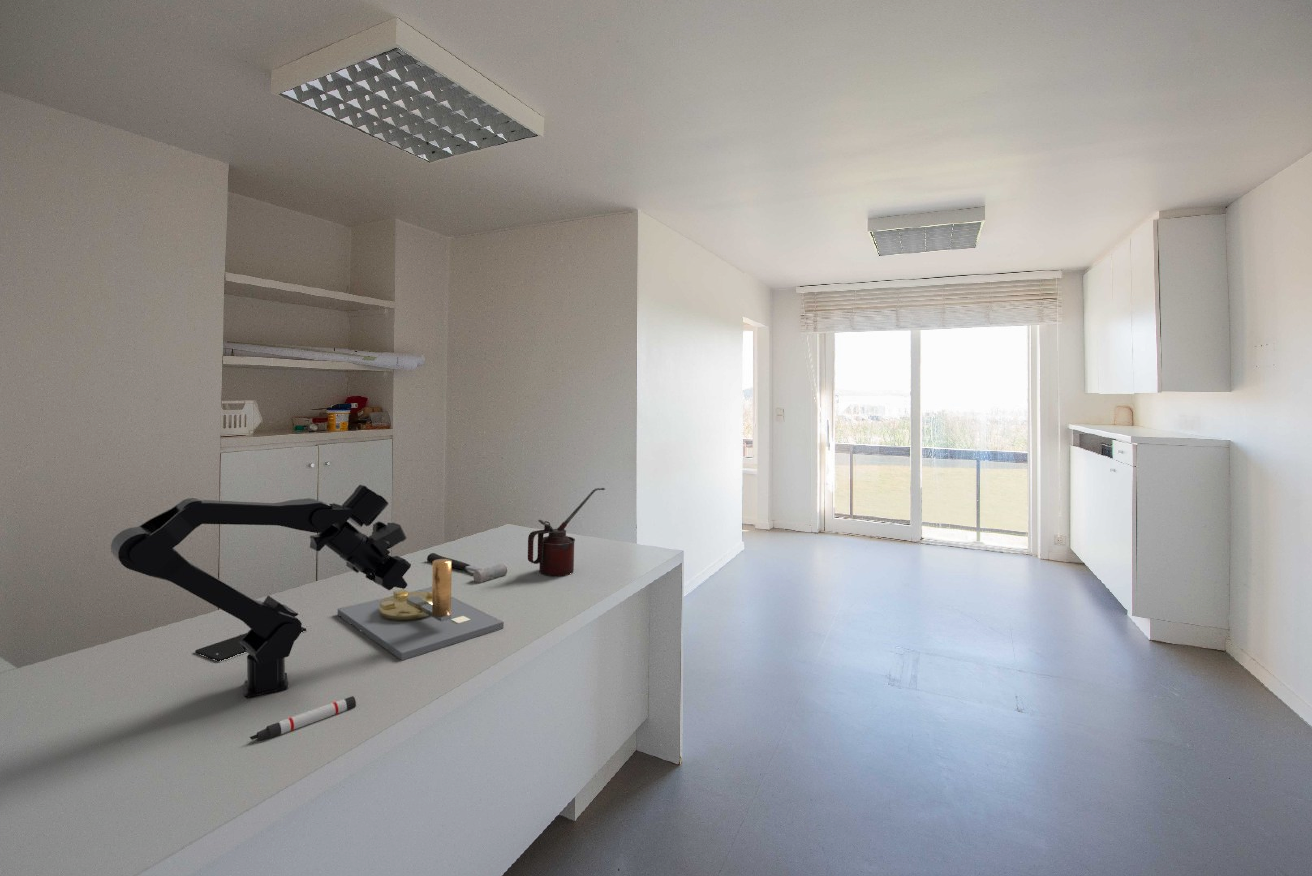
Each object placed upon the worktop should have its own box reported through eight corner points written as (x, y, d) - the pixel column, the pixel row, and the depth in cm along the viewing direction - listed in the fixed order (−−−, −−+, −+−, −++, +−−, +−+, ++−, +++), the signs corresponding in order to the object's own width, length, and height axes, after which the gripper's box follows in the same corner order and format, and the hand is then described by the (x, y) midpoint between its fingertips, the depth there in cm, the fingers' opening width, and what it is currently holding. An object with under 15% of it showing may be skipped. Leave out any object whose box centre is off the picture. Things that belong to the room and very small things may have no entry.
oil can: (539, 581, 171) (541, 497, 169) (520, 572, 179) (521, 492, 177) (613, 565, 190) (615, 489, 189) (593, 557, 198) (595, 485, 196)
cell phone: (307, 632, 131) (307, 628, 131) (219, 664, 115) (219, 659, 115) (282, 624, 135) (282, 620, 135) (193, 654, 119) (193, 650, 119)
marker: (351, 705, 102) (351, 694, 102) (356, 709, 100) (355, 698, 100) (247, 742, 90) (247, 730, 90) (251, 747, 89) (251, 735, 89)
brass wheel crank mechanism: (369, 608, 141) (369, 547, 140) (425, 595, 151) (425, 538, 150) (415, 637, 125) (416, 569, 124) (474, 620, 136) (474, 557, 135)
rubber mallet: (444, 548, 192) (507, 564, 176) (444, 559, 193) (507, 576, 176) (418, 554, 184) (481, 572, 168) (418, 566, 185) (481, 584, 168)
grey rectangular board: (337, 614, 141) (337, 607, 141) (431, 592, 159) (431, 586, 159) (402, 660, 119) (402, 652, 118) (503, 628, 136) (503, 620, 136)
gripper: (400, 520, 114) (452, 564, 123) (361, 506, 126) (411, 547, 135) (358, 567, 109) (416, 610, 118) (322, 547, 121) (376, 588, 130)
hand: (405, 586), depth 125 cm, fingers closed
